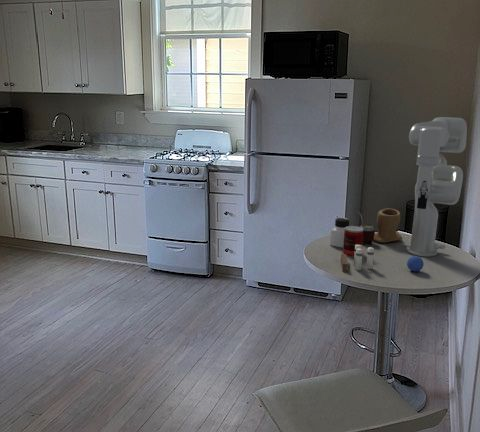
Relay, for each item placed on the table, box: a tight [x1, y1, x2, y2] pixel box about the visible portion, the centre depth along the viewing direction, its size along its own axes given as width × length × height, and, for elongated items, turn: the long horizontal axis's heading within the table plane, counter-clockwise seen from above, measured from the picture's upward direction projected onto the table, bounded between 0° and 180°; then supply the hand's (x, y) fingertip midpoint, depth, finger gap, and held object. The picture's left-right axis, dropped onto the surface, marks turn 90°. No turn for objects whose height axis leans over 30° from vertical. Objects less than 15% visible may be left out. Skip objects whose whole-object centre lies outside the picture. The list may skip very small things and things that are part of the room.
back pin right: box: [353, 245, 363, 267], centre depth 199 cm, size 2×2×8 cm
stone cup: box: [373, 207, 403, 243], centre depth 232 cm, size 15×12×15 cm
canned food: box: [342, 225, 363, 257], centre depth 213 cm, size 8×8×11 cm
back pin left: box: [354, 248, 364, 271], centre depth 194 cm, size 2×2×8 cm
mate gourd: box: [356, 210, 376, 246], centre depth 227 cm, size 8×8×15 cm
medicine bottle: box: [329, 217, 350, 249], centre depth 224 cm, size 7×7×12 cm
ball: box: [406, 255, 424, 273], centre depth 195 cm, size 6×6×6 cm
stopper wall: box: [340, 253, 349, 273], centre depth 198 cm, size 2×12×3 cm, turn 173°
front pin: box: [365, 246, 375, 270], centre depth 196 cm, size 2×2×8 cm
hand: (421, 206), depth 194 cm, fingers open, 9 cm apart
